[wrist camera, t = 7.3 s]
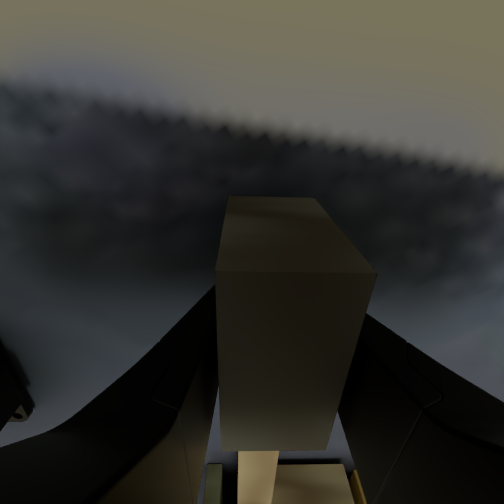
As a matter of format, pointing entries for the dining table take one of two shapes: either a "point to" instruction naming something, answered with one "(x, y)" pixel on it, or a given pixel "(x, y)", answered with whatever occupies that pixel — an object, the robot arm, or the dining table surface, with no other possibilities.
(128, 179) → the dining table surface
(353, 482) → the ochre cube
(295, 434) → the crook tool
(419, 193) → the dining table surface
